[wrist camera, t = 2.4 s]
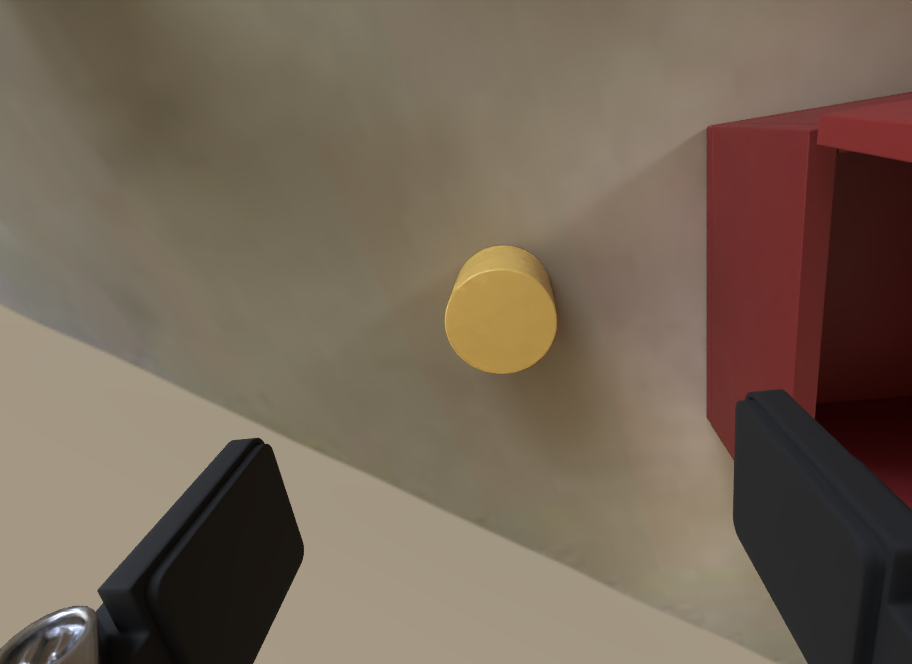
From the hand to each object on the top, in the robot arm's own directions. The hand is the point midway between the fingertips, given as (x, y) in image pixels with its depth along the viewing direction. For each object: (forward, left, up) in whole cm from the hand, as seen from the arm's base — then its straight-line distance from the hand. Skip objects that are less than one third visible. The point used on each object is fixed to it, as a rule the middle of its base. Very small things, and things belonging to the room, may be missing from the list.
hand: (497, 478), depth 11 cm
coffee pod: (0, +1, -17) cm, 17 cm away
